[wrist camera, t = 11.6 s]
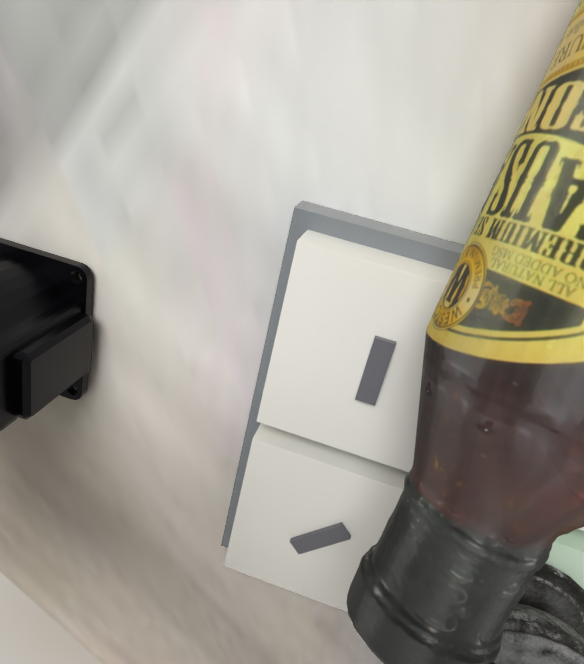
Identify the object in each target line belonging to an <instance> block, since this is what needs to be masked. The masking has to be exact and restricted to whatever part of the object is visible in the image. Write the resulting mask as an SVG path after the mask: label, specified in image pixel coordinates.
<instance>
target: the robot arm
mask: <svg viewBox="0 0 584 664" xmlns="http://www.w3.org/2000/svg"><path fill="white" fill-rule="evenodd" d="M76 272H78V273H79V274H80V275H81V278H82V280H80V279H79V278H78V277H77V274H76ZM92 286H93V275H92V272H91V270H90V268H89V267H88V266H87V265H85V264H83V263H80V262H77V261H74V260H70V259H67V258H64V257H61V256H57V255H54V254H51V253H48V252H44V251H41V250H38V249H35V248H31V247H28V246H25V245H22V244H18V243H15V242H12V241H9V240H5V239H2V238H0V431H1V430H3V429H4V428H5V427H6V426H8V425H9V424H10V423H12V422H13V421H14V420H16V419H17V418H18V417H20V418H23V419H28V418H29V417H31V416H33V415H34V414H36V413H37V412H38V411H39V410H41V409H42V408H43V407H44V406H46V405H47V404H48V403H49V402H51V401H52V400H53V399H54V398H56V397H57V396H58V395H61V396H64V397H67V398H69V399H73V400H77V399H80V398H81V397H82V396H83V395H84V394H85V393H86V392H87V385H88V371H89V370H90V369H91V353H92V334H93V320H92V318H91V306H92ZM73 386H74V387H75V388H76V389H77V390H75V389H74V388H73ZM486 664H496V663H494V662H488V663H486Z"/></svg>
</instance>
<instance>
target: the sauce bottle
mask: <svg viewBox="0 0 584 664" xmlns="http://www.w3.org/2000/svg"><path fill="white" fill-rule="evenodd" d="M582 527H584V0H580V2H579V4H578V6H577V9H576V11H575V13H574V15H573V17H572V19H571V21H570V23H569V25H568V28H567V30H566V32H565V34H564V36H563V38H562V40H561V42H560V45H559V47H558V49H557V51H556V53H555V55H554V57H553V60H552V62H551V64H550V66H549V68H548V70H547V72H546V75H545V77H544V79H543V81H542V83H541V85H540V87H539V90H538V92H537V94H536V96H535V98H534V100H533V102H532V104H531V106H530V108H529V110H528V112H527V114H526V116H525V118H524V120H523V123H522V125H521V127H520V129H519V131H518V133H517V136H516V138H515V141H514V143H513V145H512V147H511V149H510V151H509V153H508V155H507V157H506V159H505V162H504V164H503V166H502V169H501V171H500V173H499V175H498V177H497V179H496V181H495V182H494V184H493V187H492V189H491V191H490V194H489V196H488V198H487V200H486V202H485V204H484V206H483V208H482V210H481V213H480V215H479V217H478V220H477V222H476V224H475V226H474V228H473V230H472V232H471V234H470V237H469V239H468V241H467V243H466V245H465V247H464V249H463V251H462V253H461V255H460V257H459V259H458V262H457V264H456V266H455V268H454V270H453V272H452V274H451V276H450V278H449V280H448V283H447V285H446V287H445V289H444V291H443V293H442V295H441V297H440V300H439V302H438V304H437V306H436V308H435V310H434V313H433V315H432V317H431V319H430V322H429V324H428V326H427V329H426V337H425V347H424V357H423V367H422V378H421V389H420V401H419V411H418V421H417V431H416V441H415V451H414V461H413V466H412V469H411V470H410V471H409V473H408V474H407V475H406V476H405V479H404V490H403V492H402V494H401V496H400V498H399V500H398V503H397V505H396V507H395V509H394V511H393V513H392V514H391V516H390V517H389V519H388V522H387V524H386V526H385V529H384V530H383V533H382V535H381V537H380V539H379V541H378V542H377V544H375V545H374V546H372V547H371V548H370V549H369V550H368V552H366V553H365V554H364V555H363V557H362V558H361V561H360V564H359V567H358V569H357V571H356V574H355V576H354V578H353V580H352V583H351V585H350V588H349V591H348V595H347V608H348V614H349V617H350V618H351V620H352V622H353V625H354V628H355V629H356V631H357V632H358V633H359V634H360V636H361V637H362V638H363V640H364V641H365V642H366V644H367V645H368V647H369V648H370V649H371V651H372V652H373V653H374V654H375V655H376V656H377V657H378V658H379V659H380V661H381V662H383V663H384V664H486V663H488V662H494V661H495V659H496V658H497V656H498V654H499V652H500V648H501V641H502V636H503V628H504V625H505V623H506V621H507V620H508V618H509V616H510V615H511V613H512V611H513V610H514V608H515V606H516V605H517V604H518V602H519V601H520V599H521V597H522V595H523V594H524V592H525V590H526V588H527V586H528V584H529V583H530V582H531V580H532V578H533V577H534V574H535V572H537V571H539V570H540V569H541V568H542V566H544V565H545V563H546V562H547V560H548V558H549V554H550V551H551V549H552V544H553V542H554V541H555V540H556V539H557V537H559V536H561V535H564V534H568V533H570V532H572V531H574V530H575V529H579V528H582Z"/></svg>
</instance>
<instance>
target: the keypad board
mask: <svg viewBox="0 0 584 664" xmlns="http://www.w3.org/2000/svg"><path fill="white" fill-rule="evenodd" d="M464 247H465V245H461V244H458V243H454V242H450V241H447V240H443V239H440V238H436V237H432V236H429V235H425V234H421V233H418V232H414V231H411V230H407V229H403V228H400V227H396V226H392V225H389V224H385V223H382V222H378V221H374V220H371V219H367V218H363V217H360V216H356V215H352V214H349V213H345V212H342V211H338V210H334V209H331V208H327V207H323V206H320V205H316V204H313V203H309V202H305V201H302V202H300V203H299V204H298V205H297V206H295V207H294V212H293V216H292V221H291V226H290V230H289V235H288V239H287V244H286V249H285V253H284V258H283V263H282V267H281V272H280V276H279V281H278V286H277V290H276V295H275V299H274V304H273V309H272V313H271V318H270V323H269V327H268V332H267V336H266V341H265V346H264V350H263V355H262V359H261V364H260V369H259V373H258V378H257V383H256V387H255V392H254V396H253V401H252V406H251V410H250V415H249V420H248V424H247V429H246V433H245V438H244V443H243V447H242V452H241V456H240V461H239V466H238V470H237V475H236V480H235V484H234V489H233V493H232V498H231V503H230V507H229V512H228V516H227V521H226V526H225V530H224V535H223V540H222V544H221V545H222V546H225V547H227V548H228V550H227V555H226V559H225V563H224V566H225V567H227V568H230V569H233V570H235V571H238V572H241V573H243V574H246V575H249V576H251V577H254V578H257V579H259V580H262V581H265V582H267V583H270V584H273V585H275V586H278V587H281V588H283V589H286V590H289V591H291V592H294V593H297V594H299V595H302V596H305V597H307V598H310V599H313V600H315V601H318V602H321V603H323V604H326V605H329V606H331V607H334V608H337V609H339V610H342V611H345V612H347V613H348V608H347V595H348V591H349V588H350V585H351V583H352V580H353V578H354V576H355V574H356V571H357V569H358V567H359V564H360V561H361V558H362V557H363V555H364V554H365V553H366V552H368V550H369V549H370V548H371V547H372V546H374V545H375V544H377V542H378V541H379V539H380V537H381V535H382V533H383V530H384V529H385V526H386V524H387V522H388V519H389V517H390V516H391V514H392V513H393V511H394V509H395V507H396V505H397V503H398V500H399V498H400V496H401V494H402V492H403V490H404V479H405V476H406V475H407V474H408V473H409V471H410V470H411V469H412V466H413V461H414V451H415V441H416V431H417V421H418V411H419V401H420V389H421V378H422V367H423V357H424V347H425V337H426V329H427V326H428V324H429V322H430V319H431V317H432V315H433V313H434V310H435V308H436V306H437V304H438V302H439V300H440V297H441V295H442V293H443V291H444V289H445V287H446V285H447V283H448V280H449V278H450V276H451V274H452V272H453V270H454V268H455V266H456V264H457V262H458V259H459V257H460V255H461V253H462V251H463V249H464ZM579 529H580V530H583V531H584V527H582V528H579Z"/></svg>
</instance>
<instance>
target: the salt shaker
mask: <svg viewBox="0 0 584 664" xmlns="http://www.w3.org/2000/svg"><path fill="white" fill-rule="evenodd" d="M494 663H496V664H584V589H583V588H582V587H581V586H580V585H579V584H577V583H576V582H575V581H574V580H573V579H572V578H571V577H570V576H568V575H567V574H565V573H563V572H562V571H560V570H558V569H556V568H555V567H553V566H551V565H548V564H545V565H544V566H542V568H541V569H540V570H539V571H537V572H535V574H534V577H533V578H532V580H531V582H530V583H529V584H528V586H527V588H526V590H525V592H524V594H523V595H522V597H521V599H520V601H519V602H518V604H517V605H516V606H515V608H514V610H513V611H512V613H511V615H510V616H509V618H508V620H507V621H506V623H505V625H504V628H503V636H502V641H501V648H500V652H499V654H498V656H497V658H496V659H495V661H494Z"/></svg>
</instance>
